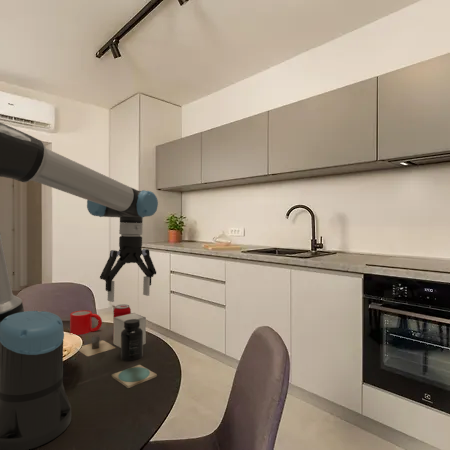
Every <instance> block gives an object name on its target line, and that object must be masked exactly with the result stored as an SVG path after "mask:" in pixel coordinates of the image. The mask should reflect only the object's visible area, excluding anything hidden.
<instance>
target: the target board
mask: <svg viewBox="0 0 450 450" xmlns="http://www.w3.org/2000/svg"><path fill="white" fill-rule="evenodd" d="M157 376H158V375H157V373H156V372H153V371H151V370H150V369H149V368H147V367H145V366H143V365H141V364H137V365H135V366H132V367H129V368H126V369H123V370H121V371H118V372H115V373H113V374H111V378H112V379H114V380H115V381H117V382H119V383H120V384H121V385H123V386H124V387H125V388H127V389H129V388H132V387H134V386H138V385H139V384H142V383H144V382H147V381H150V380H153V379H154V378H157Z"/></svg>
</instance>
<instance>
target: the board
mask: <svg viewBox="0 0 450 450" xmlns="http://www.w3.org/2000/svg"><path fill="white" fill-rule="evenodd" d="M81 346H82V348H81V349H80V350H79V351H78V352H80V353H81V354H83V355H85V356H86V357H91V356H94V355H97V354H100V353H103V352H106V351H108V352H109V351H111V350H114V349H117V346H115V345H112V344H111V343H109V342H107V341H105V340H100V334H94V335H92V336H91V343H89V344H85V345H81Z"/></svg>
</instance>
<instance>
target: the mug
mask: <svg viewBox="0 0 450 450" xmlns="http://www.w3.org/2000/svg"><path fill="white" fill-rule="evenodd" d="M93 318H94V319H96V320H97V325H96V326H95V327H93ZM102 324H103V321H102V318H101V316H100V315H99V314H96V313H93V312H92V311H91V310H85V309H84V310H77V311H73V312H71V313H69V334H70V333H73V334H76V335H75V336H77V335H78V336H80V335H85V334H88V333H92V332H96V331H99V330H100V328H101V327H102ZM73 334H72V335H73Z"/></svg>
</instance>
